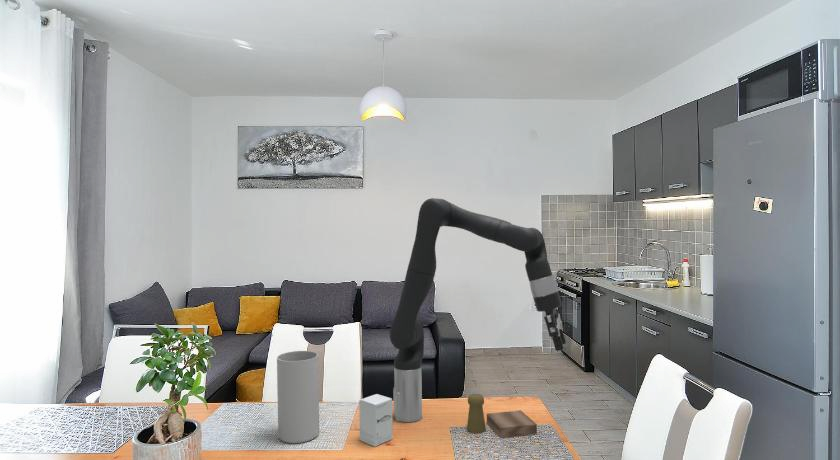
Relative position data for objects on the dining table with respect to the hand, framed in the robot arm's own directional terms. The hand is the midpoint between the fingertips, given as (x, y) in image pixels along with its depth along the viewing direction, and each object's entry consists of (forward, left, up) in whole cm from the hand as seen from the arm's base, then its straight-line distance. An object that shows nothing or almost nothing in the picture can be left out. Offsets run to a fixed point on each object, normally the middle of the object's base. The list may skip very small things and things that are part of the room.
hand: (561, 347), depth 149 cm
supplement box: (-52, +18, -29) cm, 63 cm away
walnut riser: (-9, +16, -29) cm, 34 cm away
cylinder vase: (-75, +27, -29) cm, 85 cm away
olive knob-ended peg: (-20, +18, -29) cm, 40 cm away
